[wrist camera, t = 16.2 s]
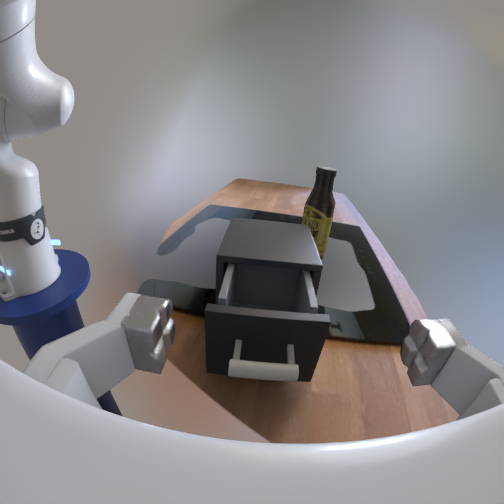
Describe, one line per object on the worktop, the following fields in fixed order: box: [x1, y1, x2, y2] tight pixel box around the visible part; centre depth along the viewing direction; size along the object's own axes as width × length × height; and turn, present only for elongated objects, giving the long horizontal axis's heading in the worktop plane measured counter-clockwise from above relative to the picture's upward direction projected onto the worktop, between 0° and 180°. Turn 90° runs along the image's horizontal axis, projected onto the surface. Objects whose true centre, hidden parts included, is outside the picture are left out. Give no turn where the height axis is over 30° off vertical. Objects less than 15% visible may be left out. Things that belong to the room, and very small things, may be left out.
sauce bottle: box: [301, 166, 337, 260], centre depth 56 cm, size 6×6×20 cm
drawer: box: [205, 263, 331, 382], centre depth 30 cm, size 18×12×9 cm, turn 177°
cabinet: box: [216, 218, 323, 305], centre depth 42 cm, size 15×13×11 cm
